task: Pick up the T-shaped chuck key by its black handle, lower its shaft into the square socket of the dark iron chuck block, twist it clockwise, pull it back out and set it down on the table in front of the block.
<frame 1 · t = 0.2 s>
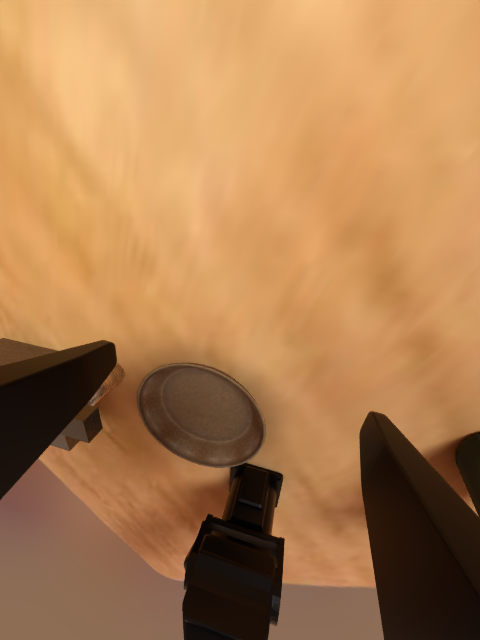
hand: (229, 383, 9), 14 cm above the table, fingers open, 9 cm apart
saucer: (207, 403, 31), on the table
chuck key: (114, 370, 32), on the table
chuck block: (50, 383, 36), on the table
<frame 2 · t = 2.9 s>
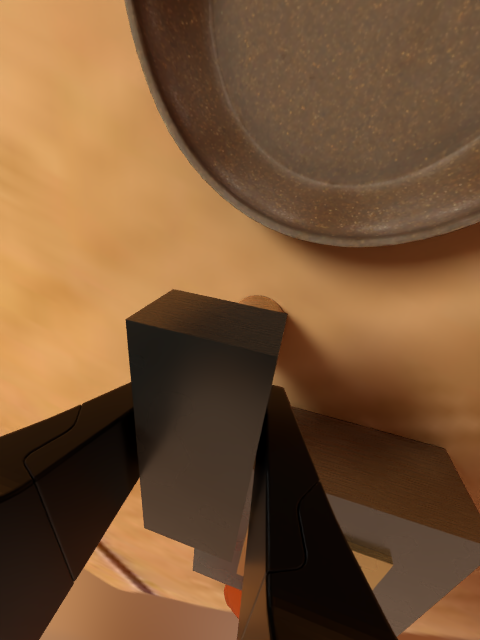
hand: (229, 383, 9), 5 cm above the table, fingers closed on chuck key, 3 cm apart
toy drill: (223, 581, 27), on the table
chuck key: (258, 321, 13), on the table, touching gripper
chuck block: (305, 480, 17), on the table
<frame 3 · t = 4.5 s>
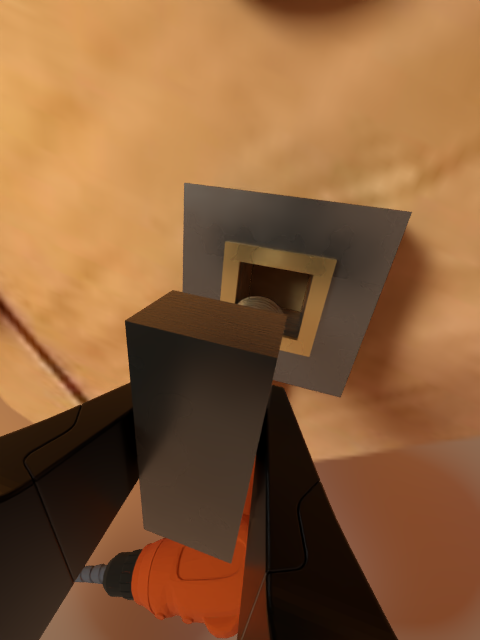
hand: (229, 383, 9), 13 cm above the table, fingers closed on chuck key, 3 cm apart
toy drill: (214, 437, 30), on the table
chuck key: (258, 321, 13), point 8 cm above the table, touching gripper
chuck block: (278, 281, 20), on the table
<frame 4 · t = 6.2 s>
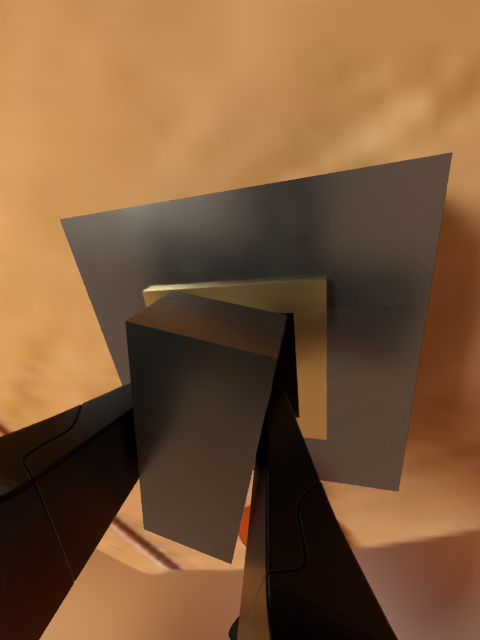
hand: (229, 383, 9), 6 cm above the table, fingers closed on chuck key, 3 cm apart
toy drill: (239, 523, 23), on the table
chuck key: (258, 321, 13), point 1 cm above the table, touching gripper
chuck block: (260, 317, 14), on the table
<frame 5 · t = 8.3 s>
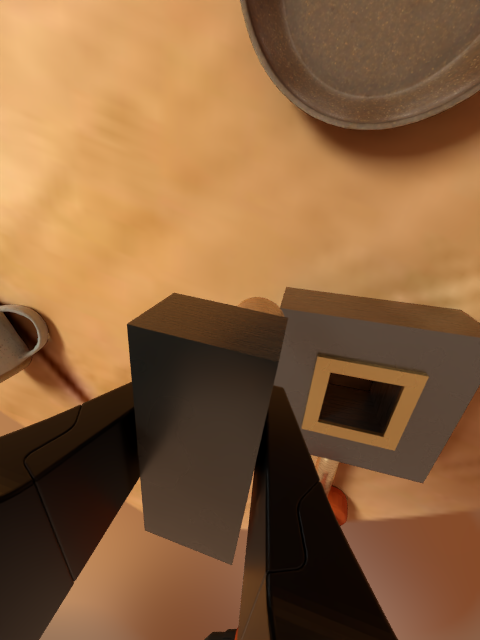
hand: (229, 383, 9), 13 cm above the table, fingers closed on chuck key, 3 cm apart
toy drill: (273, 495, 31), on the table
ceramic mug: (18, 327, 30), on the table
chuck key: (258, 322, 13), point 8 cm above the table, touching gripper
chuck block: (348, 365, 21), on the table
when the fingers open (6 cm above the table, at t = 10.0 s): chuck key drops 1 cm, on the table.
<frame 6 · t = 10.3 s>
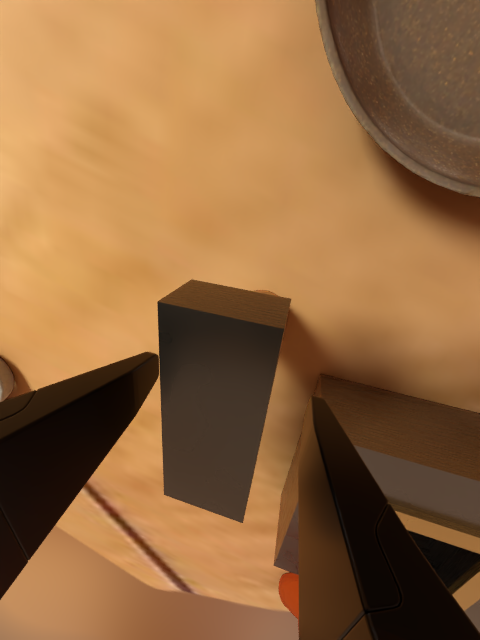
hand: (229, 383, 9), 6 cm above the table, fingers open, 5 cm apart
toy drill: (275, 578, 26), on the table
chuck key: (262, 314, 14), on the table
chuck block: (390, 471, 17), on the table
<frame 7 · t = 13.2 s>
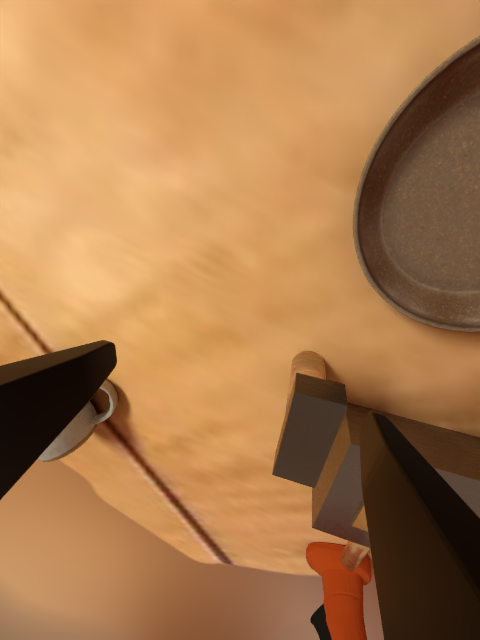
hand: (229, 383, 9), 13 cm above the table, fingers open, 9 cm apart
toy drill: (302, 548, 35), on the table
saucer: (479, 201, 16), on the table
ceramic mug: (85, 389, 33), on the table
chuck key: (308, 365, 23), on the table
chuck block: (390, 465, 25), on the table
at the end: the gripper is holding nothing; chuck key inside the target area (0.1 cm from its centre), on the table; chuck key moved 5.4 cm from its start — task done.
